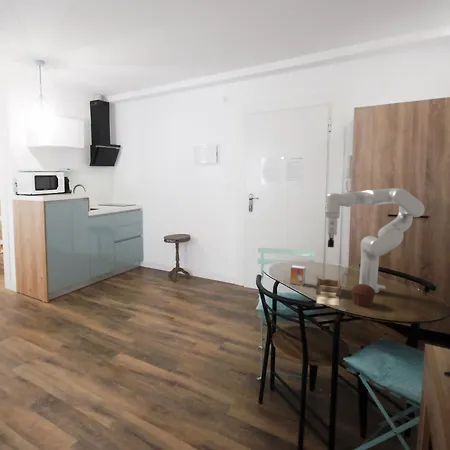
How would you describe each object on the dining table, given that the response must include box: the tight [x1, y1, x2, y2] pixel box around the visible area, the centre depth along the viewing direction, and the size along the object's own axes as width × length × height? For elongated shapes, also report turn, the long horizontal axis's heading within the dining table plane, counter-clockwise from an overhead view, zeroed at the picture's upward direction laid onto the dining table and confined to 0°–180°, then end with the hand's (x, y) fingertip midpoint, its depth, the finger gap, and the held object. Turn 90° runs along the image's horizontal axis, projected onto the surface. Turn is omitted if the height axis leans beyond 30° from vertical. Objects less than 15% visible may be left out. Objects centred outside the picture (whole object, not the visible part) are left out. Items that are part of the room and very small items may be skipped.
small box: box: [289, 264, 307, 286], centre depth 212 cm, size 8×6×10 cm
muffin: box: [351, 283, 377, 308], centre depth 179 cm, size 12×11×10 cm
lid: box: [316, 292, 340, 307], centre depth 183 cm, size 11×14×3 cm
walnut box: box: [315, 275, 342, 298], centre depth 198 cm, size 13×16×6 cm
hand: (330, 247), depth 199 cm, fingers closed
